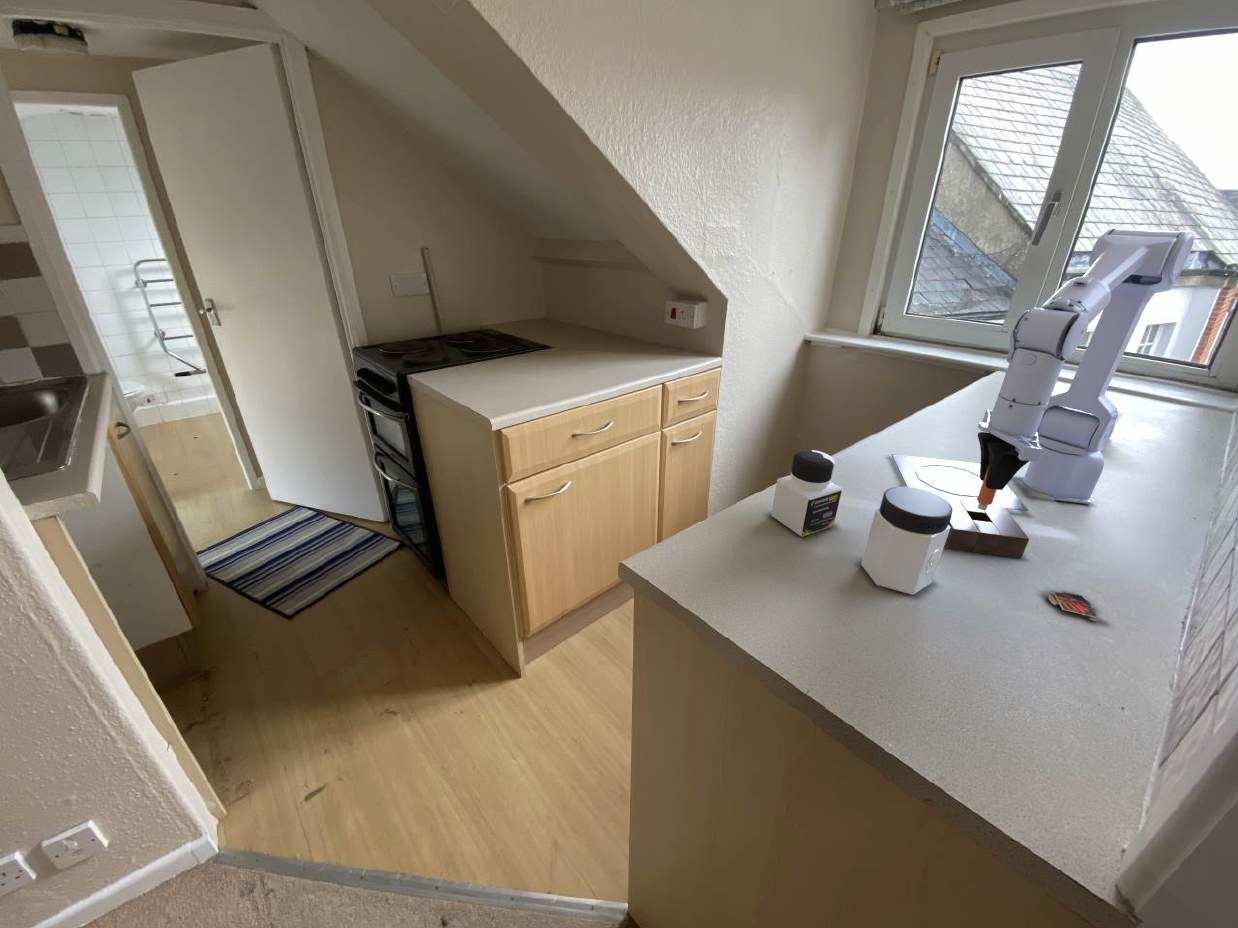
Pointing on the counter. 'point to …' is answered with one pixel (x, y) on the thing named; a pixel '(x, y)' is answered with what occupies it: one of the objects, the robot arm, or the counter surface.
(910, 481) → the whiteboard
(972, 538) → the pen stand
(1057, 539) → the counter surface
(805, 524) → the medicine bottle
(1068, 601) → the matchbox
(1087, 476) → the robot arm
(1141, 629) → the counter surface
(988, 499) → the marker
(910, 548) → the jar
